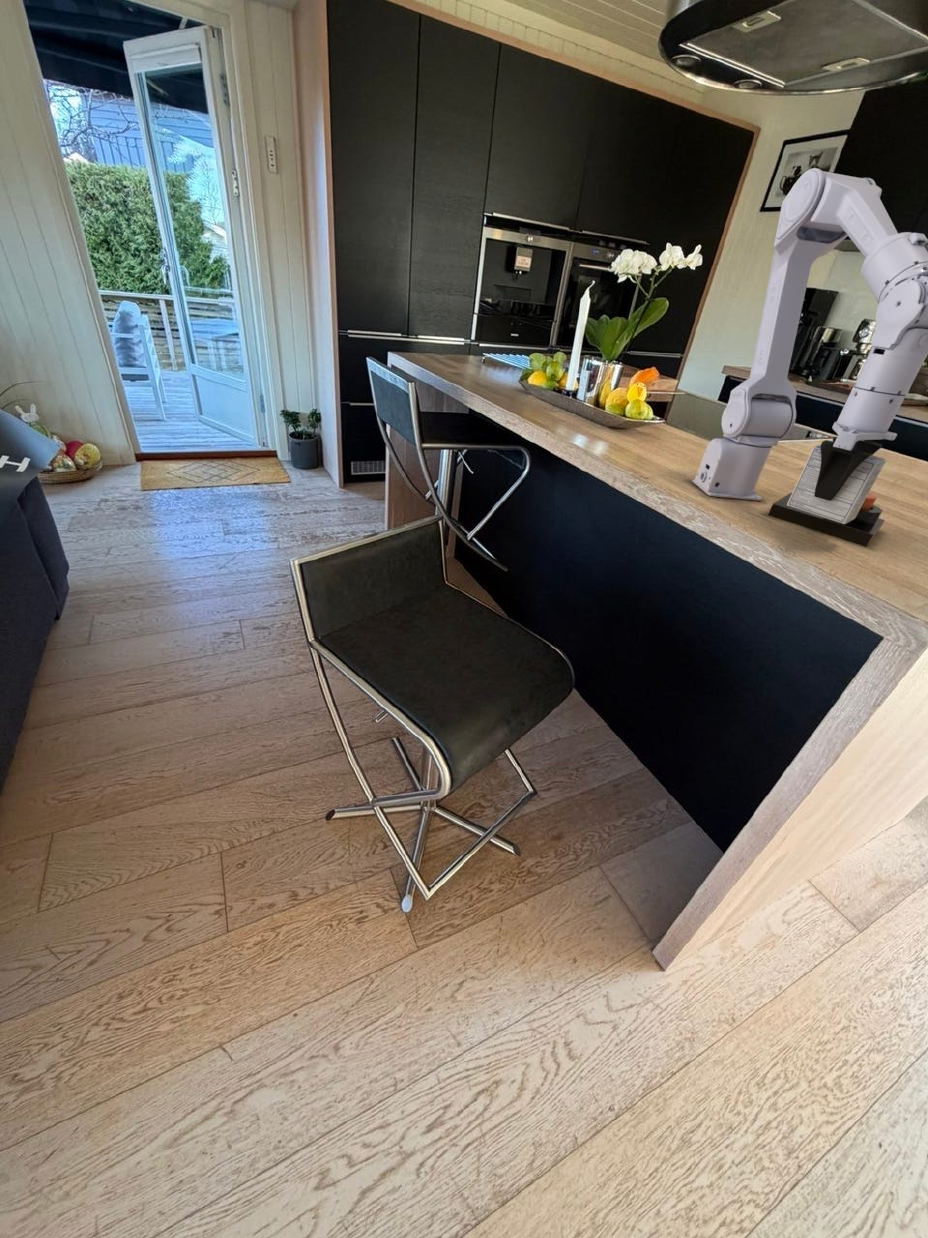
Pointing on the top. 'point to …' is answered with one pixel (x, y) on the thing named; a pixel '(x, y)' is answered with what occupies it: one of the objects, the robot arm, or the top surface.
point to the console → (832, 522)
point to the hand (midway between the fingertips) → (827, 494)
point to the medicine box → (848, 496)
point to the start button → (868, 502)
